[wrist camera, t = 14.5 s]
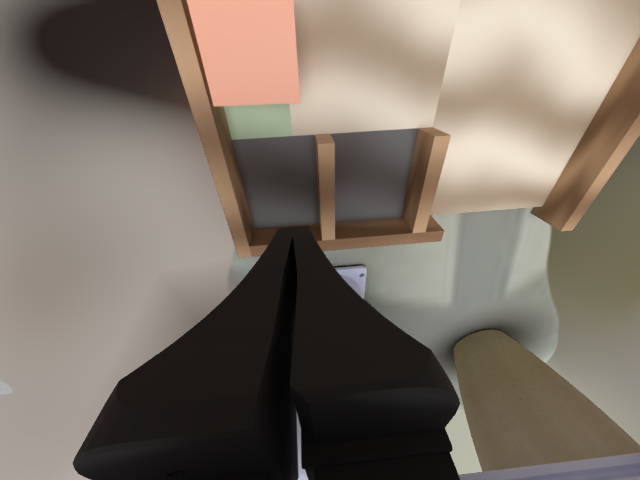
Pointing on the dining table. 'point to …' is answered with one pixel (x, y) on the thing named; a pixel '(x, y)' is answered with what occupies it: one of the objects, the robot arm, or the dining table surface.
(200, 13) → the coral block
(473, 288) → the dining table surface
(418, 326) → the dining table surface
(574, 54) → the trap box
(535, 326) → the dining table surface
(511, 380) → the plant pot
